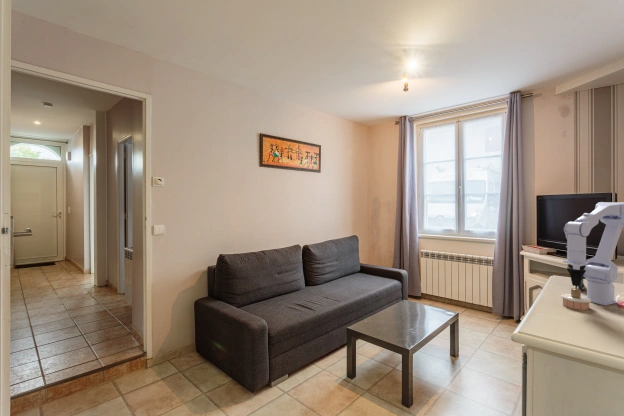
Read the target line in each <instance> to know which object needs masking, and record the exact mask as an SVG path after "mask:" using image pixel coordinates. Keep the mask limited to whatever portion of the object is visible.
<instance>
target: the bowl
mask: <svg viewBox="0 0 624 416" xmlns="http://www.w3.org/2000/svg"><path fill="white" fill-rule="evenodd" d="M562 306H565V307H566V308H569V309H575V310H580V311H581V310H583V311H587V310H590V303H580V302H573V301H569V300H566V299H563V298H562Z"/></svg>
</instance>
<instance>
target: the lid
mask: <svg viewBox="0 0 624 416" xmlns="http://www.w3.org/2000/svg"><path fill="white" fill-rule="evenodd" d="M560 297H561V299H562V300H563V299H566V300H569V301H573V302H580V303H589V304H590V303H592V302H591V299H590V298H587V296H584V295H582V291H581V290H580V289H576V288H575V287H574V288H573V287H571V288H570V293H562V294H561V296H560Z"/></svg>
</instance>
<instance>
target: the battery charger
mask: <svg viewBox="0 0 624 416" xmlns="http://www.w3.org/2000/svg"><path fill="white" fill-rule="evenodd" d="M584 279H585V277H584V276H583V277H582V280H581V284H580V286H575V287H574V288H576V289H580V290H581V292H582V291H583V292H584V291H585V290H586V291H587V286H585V284H584ZM585 280H586V279H585Z"/></svg>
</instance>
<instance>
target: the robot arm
mask: <svg viewBox="0 0 624 416" xmlns="http://www.w3.org/2000/svg"><path fill="white" fill-rule="evenodd" d="M599 222H601V223H603V224H605V227H604V231H603V233H602V235H601V239H600V242H599V245H598V247H597V250H596V252H595V256H594V257H591V258H588V259H587V237H588V236H589V235H590V233H591V231H592V229H593V228H594V227H595V226H597V225H599ZM623 227H624V201H623V202H622V201H621V202H618V201H617V202H615V201H613V202H612V201H611V202H606V201H605V202H604V201H600V202H597V203H596V204H595V207H594V210H592V211H591V212H589V213H587V212H584V213H582V215H581V216H580V217H578V218H576V219H575V220H574V221H568V222H567V223H565V225H564V227H563V232H564V234H565V238H566V240H567V241H566V243H567V245H566V247H567V249H566V258H567V259H563V263H566V264H567V267H566V270H567V272H568V273H569V276H570V281H571V285H572V286H573V287H574V286H580V284H581V280H582V277H583V276H584V277H585V280H586V297H587V298H590V299H591V302H590V303H594V304H598V305H601V306H608V305H612V304H616V301H617V300H615V286H614V282H616V281H617V278H618V271H619V268H618V265H617V264H616V263H614V261H612V259H613V256H614V253H615V250H616V247H617V245H618V242H619V238H620V236H621V233H622V230H623Z"/></svg>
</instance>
